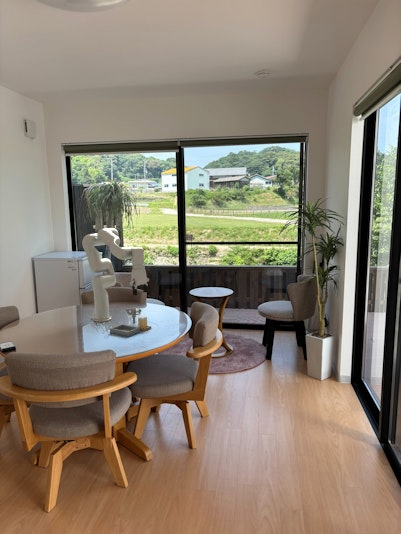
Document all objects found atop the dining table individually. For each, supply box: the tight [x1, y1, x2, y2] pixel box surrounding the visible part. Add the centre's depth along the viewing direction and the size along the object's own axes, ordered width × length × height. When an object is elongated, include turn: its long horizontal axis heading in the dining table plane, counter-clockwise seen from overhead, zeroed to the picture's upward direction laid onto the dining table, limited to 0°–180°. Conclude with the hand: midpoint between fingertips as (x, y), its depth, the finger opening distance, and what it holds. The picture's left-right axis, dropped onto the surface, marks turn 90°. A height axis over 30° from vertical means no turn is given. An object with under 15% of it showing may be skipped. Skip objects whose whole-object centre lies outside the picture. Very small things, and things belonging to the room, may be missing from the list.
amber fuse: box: [137, 315, 148, 329], centre depth 256 cm, size 4×4×8 cm
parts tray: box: [109, 323, 141, 338], centre depth 250 cm, size 15×11×3 cm
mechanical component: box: [125, 307, 142, 325], centre depth 270 cm, size 3×10×10 cm, turn 79°
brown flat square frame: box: [136, 325, 152, 333], centre depth 257 cm, size 8×8×2 cm
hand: (140, 293), depth 254 cm, fingers open, 9 cm apart
